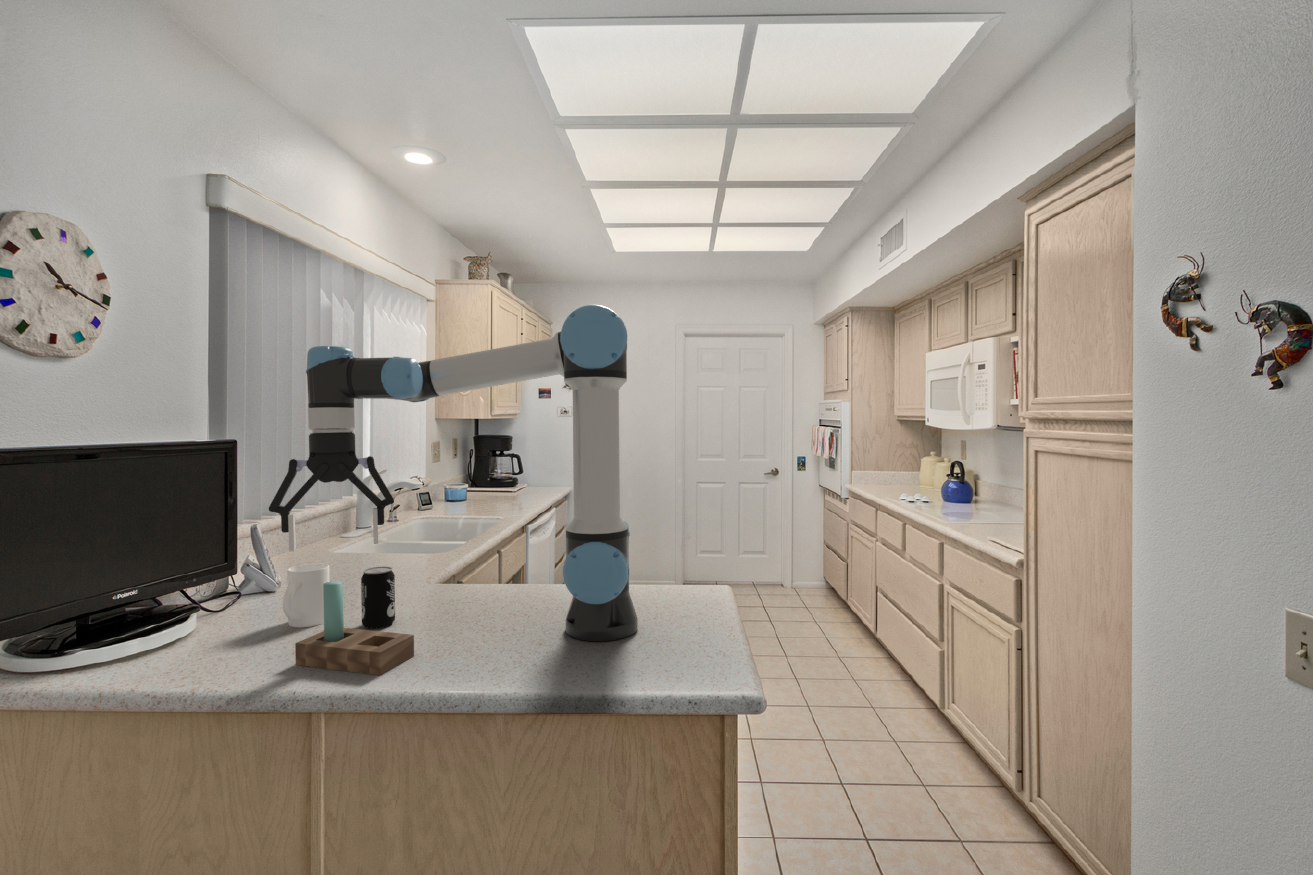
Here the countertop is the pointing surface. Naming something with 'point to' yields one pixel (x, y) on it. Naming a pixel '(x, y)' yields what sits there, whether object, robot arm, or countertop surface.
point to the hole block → (356, 651)
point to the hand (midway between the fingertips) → (335, 546)
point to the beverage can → (378, 597)
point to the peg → (333, 611)
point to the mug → (305, 594)
